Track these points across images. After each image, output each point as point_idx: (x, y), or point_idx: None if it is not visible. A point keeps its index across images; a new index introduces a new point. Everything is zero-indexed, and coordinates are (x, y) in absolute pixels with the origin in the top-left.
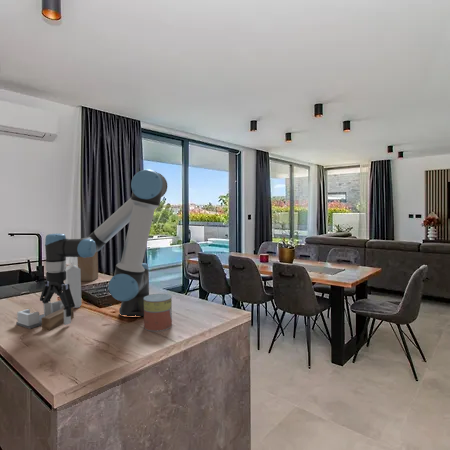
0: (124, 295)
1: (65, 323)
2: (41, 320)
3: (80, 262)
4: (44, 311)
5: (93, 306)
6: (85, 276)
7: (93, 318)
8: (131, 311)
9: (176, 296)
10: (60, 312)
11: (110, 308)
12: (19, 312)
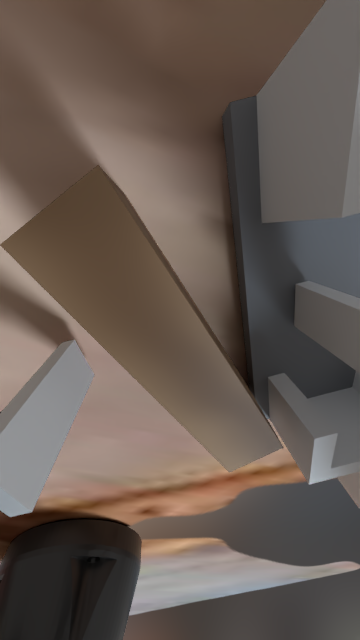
0: None
1: (58, 351)
2: (296, 254)
3: None
4: (353, 302)
5: (281, 482)
6: None
7: (125, 457)
8: (2, 579)
9: (156, 603)
10: (168, 392)
11: (201, 510)
12: None
